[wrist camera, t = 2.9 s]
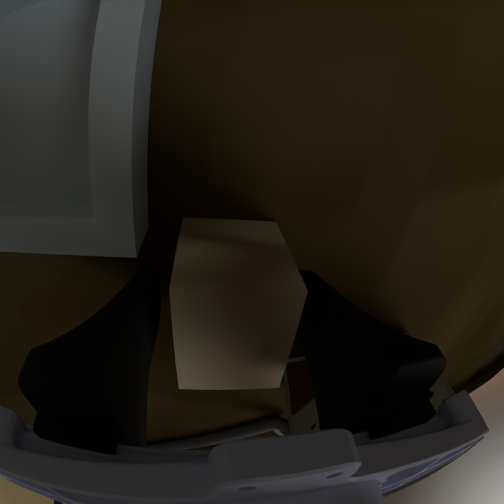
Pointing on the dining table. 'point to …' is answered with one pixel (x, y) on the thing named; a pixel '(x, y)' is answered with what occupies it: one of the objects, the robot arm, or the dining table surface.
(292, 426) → the food container
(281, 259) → the beige cardboard-like cube
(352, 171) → the dining table surface
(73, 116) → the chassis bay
